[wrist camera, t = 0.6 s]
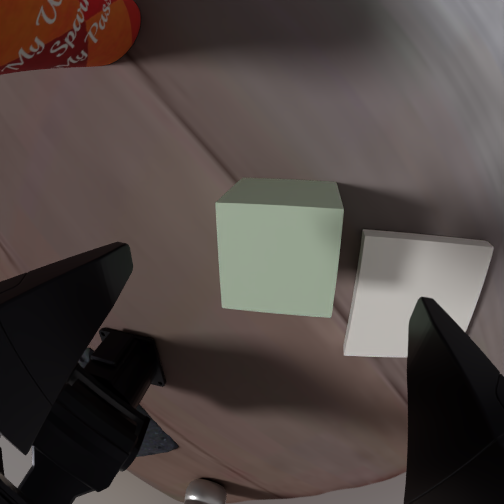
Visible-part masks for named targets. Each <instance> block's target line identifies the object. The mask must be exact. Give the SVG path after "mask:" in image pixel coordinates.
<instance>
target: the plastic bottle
mask: <svg viewBox="0 0 504 504" xmlns="http://www.w3.org/2000/svg"><path fill="white" fill-rule="evenodd" d="M226 495H227V493H226V491H225V488H224V487H223V486H221V485H219V484H217V483H215V482H212V481H209V480H204V479H195V480H193V481H192V482H191V483H190V484H189V486H188V487H187V490H186V495H185V503H184V504H225V502H226Z"/></svg>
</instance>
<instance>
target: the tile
mask: <svg viewBox="0 0 504 504" xmlns="http://www.w3.org/2000/svg"><path fill="white" fill-rule="evenodd" d="M493 250H494V247H493V246H492V245H491V244H490V243H489V242H488V241H484V240H475V239H465V238H456V237H446V236H436V235H425V234H414V233H403V232H392V231H380V230H367V229H363V230H362V239H361V246H360V254H359V261H358V268H357V274H356V281H355V287H354V293H353V299H352V304H351V310H350V315H349V320H348V326H347V331H346V336H345V340H344V345H343V347H344V355H346V356H370V357H407V356H408V325H409V320H410V317H411V315H412V312H413V310H414V308H415V305H416V303H417V301H418V299H419V298H420V297H428V298H433V299H434V300H435V301H436V302H437V303H438V304H439V305H440V306H441V307H442V308H443V309H444V310H445V311H446V312H447V313H448V315H449V316H450V317H451V318H452V319H453V320H454V321H455V322H456V323H457V324H458V325H459V326H460V327H461V328H462V330H463V331H464V332H466V330H467V327H468V325H469V322H470V320H471V317H472V315H473V312H474V309H475V307H476V304H477V301H478V298H479V295H480V292H481V290H482V287H483V283H484V280H485V277H486V274H487V271H488V267H489V264H490V260H491V257H492V253H493Z"/></svg>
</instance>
